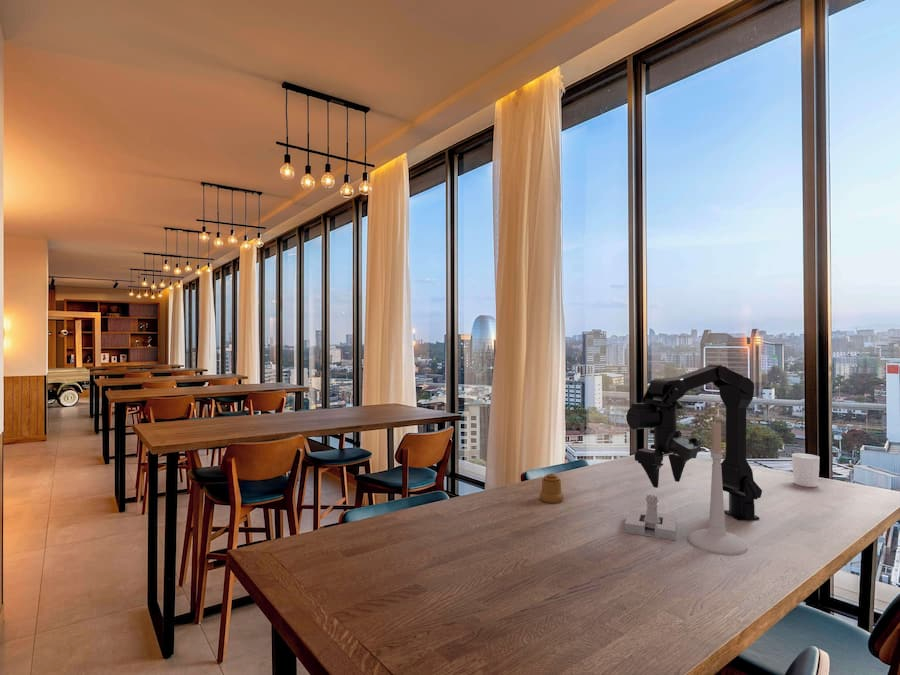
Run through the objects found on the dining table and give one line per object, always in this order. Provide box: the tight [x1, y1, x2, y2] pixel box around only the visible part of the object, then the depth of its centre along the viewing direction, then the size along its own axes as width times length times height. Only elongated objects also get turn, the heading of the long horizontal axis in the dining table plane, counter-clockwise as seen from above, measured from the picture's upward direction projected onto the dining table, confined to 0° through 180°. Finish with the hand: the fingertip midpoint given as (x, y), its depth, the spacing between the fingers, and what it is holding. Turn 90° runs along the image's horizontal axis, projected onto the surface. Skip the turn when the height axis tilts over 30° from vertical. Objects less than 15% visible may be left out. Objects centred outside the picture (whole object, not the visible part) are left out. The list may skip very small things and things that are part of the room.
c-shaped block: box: [624, 508, 678, 541], centre depth 130 cm, size 12×12×2 cm
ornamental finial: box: [539, 473, 565, 504], centre depth 153 cm, size 8×8×8 cm
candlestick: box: [687, 421, 749, 556], centre depth 120 cm, size 13×13×30 cm
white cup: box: [791, 452, 820, 488], centre depth 170 cm, size 8×8×10 cm
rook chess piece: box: [643, 494, 661, 529], centre depth 130 cm, size 4×4×8 cm
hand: (666, 484), depth 131 cm, fingers open, 9 cm apart
